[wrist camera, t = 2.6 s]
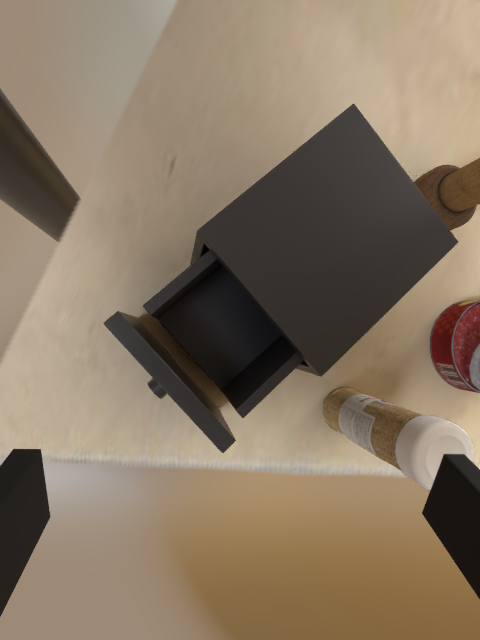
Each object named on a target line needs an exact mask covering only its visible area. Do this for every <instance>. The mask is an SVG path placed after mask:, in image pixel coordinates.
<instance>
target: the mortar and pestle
mask: <svg viewBox="0 0 480 640" xmlns="http://www.w3.org/2000/svg"><path fill="white" fill-rule="evenodd" d="M414 184H415V185H416V186H417V188H418V189H419V190H420V192H421V193H422V194H423V196H424V197H425V198H426V200H427V201H428V202H429V204H430V205H431V206H432V208H433V209H434V210H435V212H436V213H437V214H438V216H439V217H440V218H441V220H442V221H443V222H444V224H445V225H446V226H447V228H448V229H449V230H452V229H454V228H457V227H459V226H462V225H464V224H465V223H467V222H468V221H469V220H470V219H471V217H472V216H473V214H474V212H475V209H476V206H477V205H478V204H480V158H479V159H477V160H475V161H473V162H471V163H470V164H468V165H466V166H464V167H462V168H461V169H460V168H458V167H456V166H452V165H442V166H439V167H436V168H434V169H432V170H431V171H429V172H427V173H426V174H424V175H422V176H421V177H419V178H418V179H417V180H416V181H415V182H414Z"/></svg>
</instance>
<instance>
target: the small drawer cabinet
mask: <svg viewBox="0 0 480 640" xmlns="http://www.w3.org/2000/svg"><path fill="white" fill-rule="evenodd" d="M457 243H458V241H457V239H456V238H455V237H454V235H453V234H452V233H451V231H450V230H449V229H448V228H447V226H446V225H445V224H444V222H443V221H442V220H441V218H440V217H439V216H438V214H437V213H436V212H435V210H434V209H433V208H432V206H431V205H430V204H429V202H428V201H427V200H426V198H425V197H424V196H423V194H422V193H421V192H420V190H419V189H418V188H417V186H416V185H415V184H414V182H413V181H412V180H411V179H410V177H409V176H408V175H407V173H406V172H405V171H404V169H403V168H402V167H401V165H400V164H399V163H398V161H397V160H396V159H395V157H394V156H393V155H392V153H391V152H390V151H389V149H388V148H387V147H386V145H385V144H384V143H383V141H382V140H381V139H380V137H379V136H378V135H377V133H376V132H375V131H374V129H373V128H372V127H371V126H370V124H369V123H368V122H367V120H366V119H365V118H364V116H363V115H362V114H361V112H360V111H359V110H358V108H357V107H356V106H355V104H352V105H351V106H350V107H349V108H348V109H346V110H345V111H344V112H343V113H341V114H340V115H339V116H338V117H336V118H335V119H334V120H333V121H332V122H330V123H329V124H328V125H327V126H325V127H324V128H323V129H322V130H320V131H319V132H318V133H317V134H316V135H314V136H313V137H312V138H311V139H309V140H308V141H307V142H306V143H304V144H303V145H302V146H301V147H300V148H298V149H297V150H296V151H295V152H293V153H292V154H291V155H290V156H288V157H287V158H286V159H285V160H283V161H282V162H281V163H280V164H279V165H277V166H276V167H275V168H274V169H272V170H271V171H270V172H269V173H267V174H266V175H265V176H264V177H263V178H261V179H260V180H259V181H258V182H256V183H255V184H254V185H253V186H251V187H250V188H249V189H248V190H247V191H245V192H244V193H243V194H242V195H240V196H239V197H238V198H237V199H235V200H234V201H233V202H232V203H231V204H229V205H228V206H227V207H226V208H224V209H223V210H222V211H221V212H219V213H218V214H217V215H216V216H215V217H213V218H212V219H211V220H210V221H208V222H207V223H206V224H205V225H203V226H202V227H201V228H200V229H199V230H197V235H196V240H195V245H194V250H193V254H192V259H191V265H192V264H193V263H195V262H196V261H197V260H198V259H199V258H201V257H202V256H203V255H204V254H206V253H207V252H208V251H209V250H210V251H211V252H212V253H213V254H214V255H215V257H216V258H217V259H218V260H219V261H220V262H221V264H222V265H223V266H224V267H225V268H226V269H227V271H228V272H229V273H230V274H231V275H232V276H233V278H234V279H235V280H236V281H237V282H238V284H239V285H240V286H241V287H242V288H243V289H244V291H245V292H246V293H247V294H248V295H249V296H250V298H251V299H252V300H253V301H254V302H255V303H256V305H257V306H258V307H259V308H260V309H261V311H262V312H263V313H264V314H265V315H266V316H267V318H268V319H269V320H270V321H271V322H272V323H273V325H274V326H275V327H276V328H277V329H278V330H279V332H280V333H281V334H282V335H283V336H284V337H285V339H286V340H287V341H288V342H289V343H290V345H291V346H292V347H293V348H294V349H295V350H296V352H297V353H298V354H299V355H300V356H301V357H302V359H303V361H302V362H301V363H300V364H299V365H298V366H297V367H296V368H297V369H300V370H303V371H306V372H309V373H312V374H316V375H318V376H322V375H323V374H325V373H326V372H327V371H328V370H329V369H330V368H331V367H332V366H333V365H334V364H335V363H336V362H337V361H338V360H339V359H340V358H341V357H342V356H343V355H344V354H345V353H346V352H347V351H348V350H349V349H350V348H351V347H352V346H353V345H354V344H355V343H356V342H357V341H358V340H359V339H360V338H361V337H362V336H363V335H364V334H365V333H366V332H367V331H368V330H369V329H370V328H371V327H372V326H373V325H374V324H375V323H376V322H378V321H379V320H380V319H381V318H382V317H383V316H384V315H385V314H386V313H387V312H388V311H389V310H390V309H391V308H392V307H393V306H394V305H395V304H396V303H397V302H398V301H399V300H400V299H401V298H402V297H403V296H404V295H405V294H406V293H407V292H408V291H409V290H410V289H411V288H412V287H413V286H414V285H415V284H416V283H417V282H418V281H419V280H420V279H421V278H422V277H423V276H424V275H425V274H426V273H427V272H428V271H429V270H430V269H432V268H433V267H434V266H435V265H436V264H437V263H438V262H439V261H440V260H441V259H442V258H443V257H444V256H445V255H446V254H447V253H448V252H449V251H450V250H451V249H452V248H453V247H454V246H455V245H456V244H457Z"/></svg>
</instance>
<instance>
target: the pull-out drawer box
mask: <svg viewBox="0 0 480 640" xmlns="http://www.w3.org/2000/svg"><path fill="white" fill-rule="evenodd" d="M143 307H144V308H145V310H146V311H147V312H148V313H149V314H150V315H152V316H153V317H155V318H157V319H158V320H159V322H160V323H161V324H162V325H163V326H164V327H165V328H166V329H167V330H168V332H169V333H170V334H171V335H172V336H173V337H174V338H175V339H176V340H177V342H178V343H179V344H180V345H181V346H182V347H183V348H184V349H185V351H186V352H187V353H188V354H189V355H190V356H191V357H192V358H193V359H194V361H195V362H196V363H197V364H198V365H199V366H200V367H201V368H202V369H203V371H204V372H205V373H206V374H207V375H208V376H209V377H210V378H211V380H212V381H213V382H214V383H215V384H216V385H217V386H218V387H219V388H220V390H221V391H222V392H223V393H224V395H225V396H226V397H227V399H228V400H229V402H230V403H231V404H232V406H233V407H234V408H235V410H236V411H237V412H238V413H239V414H240V415H241V417H242V418H244V417H245V416H246V415H247V414H248V413H249V412H250V411H251V410H252V409H253V408H254V407H255V406H256V405H257V404H258V403H259V402H261V401H262V400H263V399H264V398H265V397H266V396H267V395H268V394H269V393H270V392H271V391H272V390H273V389H274V388H275V387H276V386H277V385H278V384H279V383H280V382H281V381H282V380H283V379H285V378H286V377H287V376H288V375H289V374H290V373H291V372H292V371H293V370H294V369H295V368H296V367H297V366H298V365H299V364H300V363H301V362H302V361H303V359H302V357H301V356H300V355H299V354H298V353H297V352H296V350H295V349H294V348H293V347H292V346H291V345H290V343H289V342H288V341H287V340H286V339H285V337H284V336H283V335H282V334H281V333H280V332H279V330H278V329H277V328H276V327H275V326H274V325H273V323H272V322H271V321H270V320H269V319H268V318H267V316H266V315H265V314H264V313H263V312H262V311H261V309H260V308H259V307H258V306H257V305H256V303H255V302H254V301H253V300H252V299H251V298H250V296H249V295H248V294H247V293H246V292H245V291H244V289H243V288H242V287H241V286H240V285H239V284H238V282H237V281H236V280H235V279H234V278H233V276H232V275H231V274H230V273H229V272H228V271H227V269H226V268H225V267H224V266H223V265H222V264H221V262H220V261H219V260H218V259H217V258H216V257H215V255H214V254H213V253H212V252H211V251H210V250H209V251H208V252H207V253H206V254H204V255H203V256H202V257H201V258H199V259H198V260H197V261H196V262H195V263H193V264H192V265H191V266H190V267H189V268H187V269H186V270H185V271H184V272H183V273H181V274H180V275H179V276H178V277H177V278H175V279H174V280H173V281H172V282H171V283H169V284H168V285H167V286H166V287H165V288H163V289H162V290H161V291H160V292H159V293H157V294H156V295H155V296H154V297H153V298H151V299H150V300H149V301H148V302H147V303H145V304H144V305H143ZM104 325H105V326H106V327H107V328H108V329H109V330H110V331H111V333H112V334H113V335H114V336H115V337H116V338H117V339H118V340H119V341H120V342H121V343H122V344H123V346H124V347H125V348H126V349H127V350H128V351H129V352H130V353H131V354H132V355H133V356H134V358H135V359H136V360H137V361H138V362H139V363H140V364H141V365H142V366H143V367H144V368H145V370H146V371H147V372H148V373H149V374H150V375H151V376H152V377H153V379H152V380H151V381H149V382H148V386H149V388H150V389H151V390H152V391H153V393H154V394H155V395H156V396H158V397H159V398H161V399H162V398H163V397H164V396H165V395H166V394H167V393H168V395H169V396H170V397H171V398H172V399H173V400H174V401H175V402H176V403H177V404H178V405H179V406H180V408H181V409H182V410H183V411H184V412H185V413H186V414H187V415H188V416H189V417H190V418H191V420H192V421H193V422H194V423H195V424H196V425H197V426H198V427H199V428H200V429H201V430H202V431H203V433H204V434H205V435H206V436H207V437H208V438H209V439H210V440H211V441H212V442H213V443H214V445H215V446H216V447H217V448H218V449H219V450H220V451H221V452H222V453H224V452H225V451H226V450H227V449H228V448H229V447H230V446H231V445H232V444H233V443H234V442H235V441H236V440H235V438H234V436H233V434H232V432H231V431H230V429H229V427H228V425H227V423H226V421H225V419H224V417H223V416H222V414H221V412H220V410H219V409H218V407H217V406H216V405H215V404H214V403H213V402H212V401H211V400H210V399H209V398H208V396H207V395H206V394H205V393H204V392H203V391H202V390H201V389H200V388H199V386H198V385H197V384H196V383H195V382H194V381H193V380H192V379H191V378H190V376H189V375H188V374H187V373H186V372H185V371H184V370H183V369H182V368H181V367H180V365H179V364H178V363H177V362H176V361H175V360H174V359H173V358H172V357H171V355H170V354H169V353H168V352H167V351H166V350H165V349H164V348H163V347H162V346H161V344H160V343H159V342H158V341H157V340H156V339H155V338H154V337H153V336H152V334H151V333H150V332H149V331H148V330H147V329H146V328H145V327H144V326H143V325H142V323H141V322H140V321H139V320H138V319H137V318H136V317H134V316H131V315H128V314H125V313H122V312H119V311H118V312H116V313H115V314H114V315H113V316H111V317H110V318H109V319H108V320H107V321H105V322H104Z"/></svg>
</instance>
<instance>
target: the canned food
mask: <svg viewBox="0 0 480 640" xmlns="http://www.w3.org/2000/svg"><path fill="white" fill-rule="evenodd" d="M430 351H431V357H432V360H433V364H434V366H435V368H436V370H437V372H438V373H439V374H440V376H441V377H442V378H443V379H444V380H445V381H446V382H447V383H448V384H450V385H452V386H453V387H455V388H458V389H461V390H467V391H472V392H477V393H480V300H477V301H465V302H459V303H456V304H453V305H452V306H450V307H449V308H447V309H446V310H445V311H444V312H443V313H442V314H441V315H440V316H439V318H438V319H437V321H436V322H435V325H434V327H433V329H432V333H431V338H430Z"/></svg>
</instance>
